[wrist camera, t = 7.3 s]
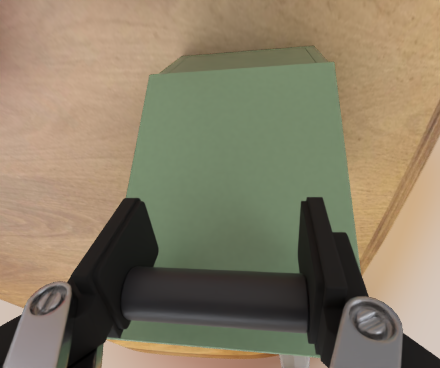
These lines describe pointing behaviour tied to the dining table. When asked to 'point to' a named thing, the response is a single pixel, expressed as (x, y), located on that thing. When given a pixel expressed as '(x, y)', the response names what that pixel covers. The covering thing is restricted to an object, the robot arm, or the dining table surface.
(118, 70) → the dining table surface
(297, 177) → the lid
